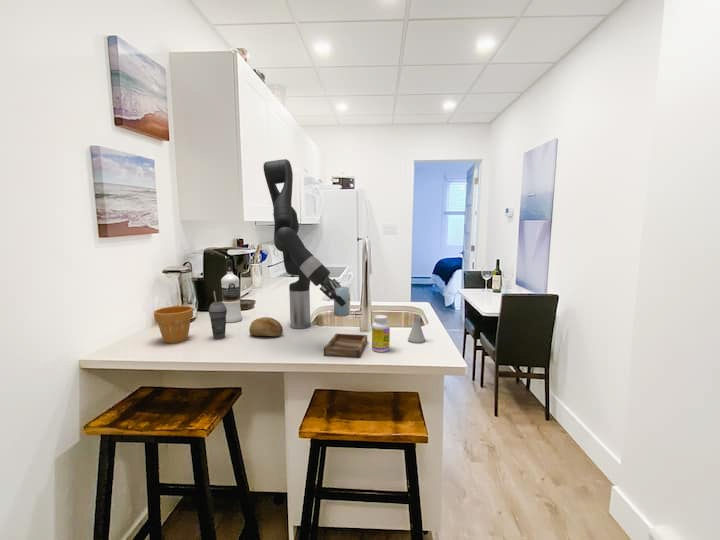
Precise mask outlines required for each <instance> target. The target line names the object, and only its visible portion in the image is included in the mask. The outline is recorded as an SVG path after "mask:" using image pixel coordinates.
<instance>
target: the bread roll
mask: <svg viewBox="0 0 720 540" xmlns="http://www.w3.org/2000/svg"><path fill="white" fill-rule="evenodd" d="M248 329H249V330H248V331H249V334H250V336H257V337H259V336H260V337H261V336H262V337H279V336H282V334H283V332H284V329H283V326H282V324H281V323H280V321H278V320H277V319H275V318H272V317H268V316H265V317H259V318H255V319H254V320H253V321H252V322H251V323H250V325H249V328H248Z"/></svg>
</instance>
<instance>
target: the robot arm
mask: <svg viewBox="0 0 720 540" xmlns="http://www.w3.org/2000/svg"><path fill="white" fill-rule="evenodd" d="M263 173H264V174H263V175H264V177H265V181H266V185H267V188H268V191H269V195H270V198H271V202H272V207H273V210H272V211H273V222H274V228H273V229H274V230H273V231H274V232H273V242H274V246H275V249H277V251H279V252H282V258H283V259H282V260H283V264H284V269H285V273H286V274H288V275H289V276H290V275H291V276H298V279H297V280H296V281H294V282H292V283H290V284H289V286H288V288H289V289H288V290H289V292H288V293H289V316H290V317H289V318H290V319H289V320H290V321H289V322H290V328H291V329H297V330H301V329H307V328H310V327H311V301H310V300H311V296H310V295H311V294H310V292H311V291H310V289H311V288H310V287H311V286H310V284H311V283H312V285H314V286H315V287H318V286H320V287H319V290H320V292H322V293H323V294H324V295H325V296H326V297H328V298H329V299H330V300H331V301H332V300H333V301H334V300H335V301H336V302H337V303H338V304H339V305H340V306H341V307H343V306H344V305H345V304H346V302H345V301H344V300H343V299H342V298H341V297H340V296H339V295H338V293H337V292H336V287H342V286H341V284H340V283H339V282H338V280H336V278H333V279H332V278H330V277H329V276H330V274H331V271H330V270H329V269H328V268H327V267H326V266H325V265H324V263H322V262H321V260H319V259H318V258H317V257H315V255H314V254H312V253H311V252H310V251H309V249H308V248H306V246H305V245H304V242H303V241H302V240H301V238H300V237H299V235H298V234H299V229H300V226H299V225H300V223H299V219H298V213H297V212H296V210H295V209H294V207H293V206H292V199H293V198H292V197H293V180H294V178H293V176H294V175H293V167H292V165H291V162H290V160H288V159H287V158H286V159H276V160H269V161H265V162H264V163H263ZM277 184H278V185H279V184H283V187H282V189H281V191H279V189H278V187H277ZM349 301H351V299H350V297H349Z"/></svg>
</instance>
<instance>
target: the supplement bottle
mask: <svg viewBox="0 0 720 540" xmlns="http://www.w3.org/2000/svg"><path fill="white" fill-rule="evenodd" d="M390 329H391V327H390V323H388V316H387V315H383V314H378V315H375V316H374V322H373V323H371V350H372V351H374V352H377V353H386V352H388V351H389V350H390V338H391V337H390V333H391V332H390Z"/></svg>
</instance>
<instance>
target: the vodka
mask: <svg viewBox="0 0 720 540" xmlns="http://www.w3.org/2000/svg"><path fill="white" fill-rule="evenodd" d="M225 263H226V274H225V275H224V276H223V277H222V278H221V279H220V283H221V291H222V293H221V294H222V295H221V296H222V301H221V302H222V303H224V304H225V306H226V308H227V314H226V324H230V323H231V324H233V323H238V322H241V320H242V318H243V315H242V310H241V298H240V278H239V277H238V276H237V275H235V274H234V272H233V260H226V262H225Z"/></svg>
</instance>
